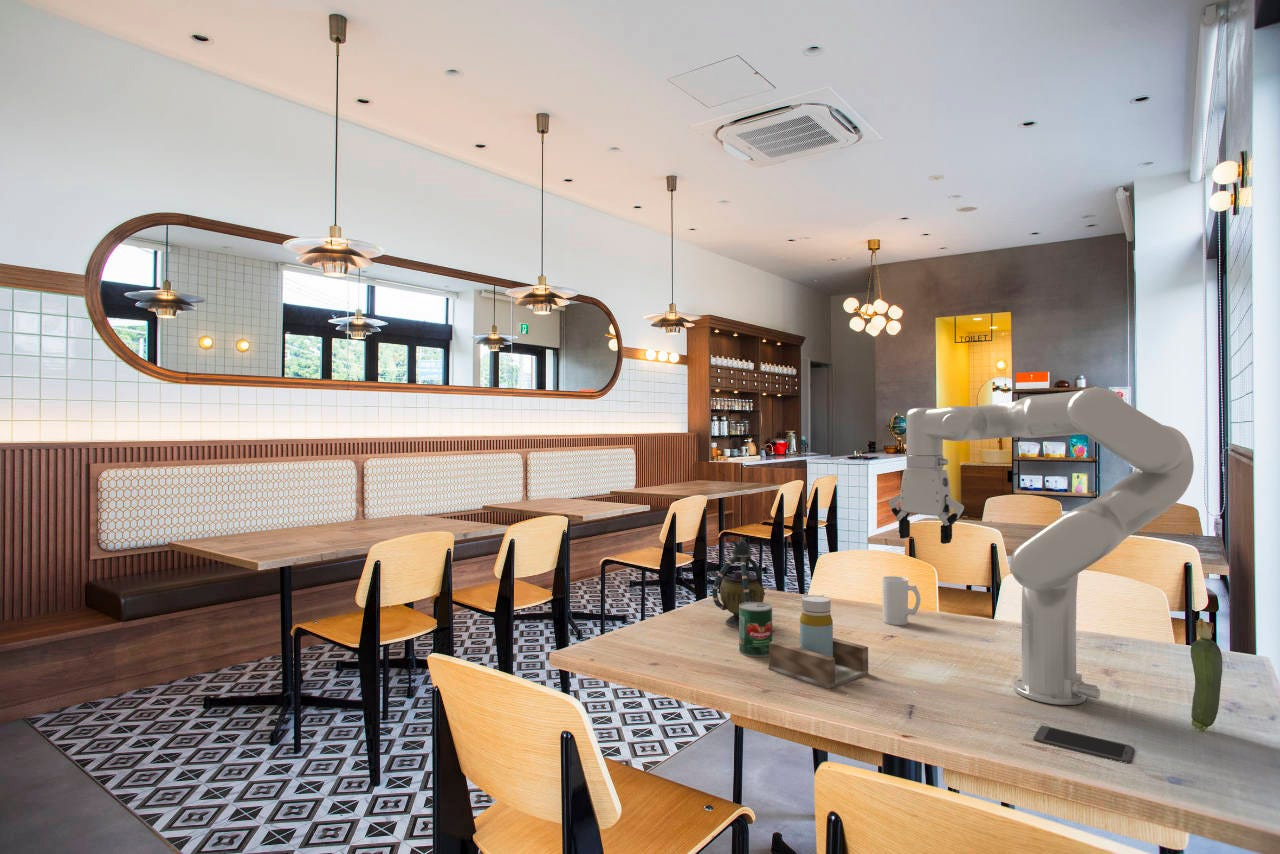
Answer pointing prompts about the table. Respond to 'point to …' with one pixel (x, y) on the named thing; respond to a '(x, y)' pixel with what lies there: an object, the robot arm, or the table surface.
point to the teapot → (738, 584)
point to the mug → (897, 600)
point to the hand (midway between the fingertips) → (924, 540)
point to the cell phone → (1084, 744)
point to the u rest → (820, 663)
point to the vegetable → (1205, 678)
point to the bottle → (816, 625)
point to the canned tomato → (755, 628)
